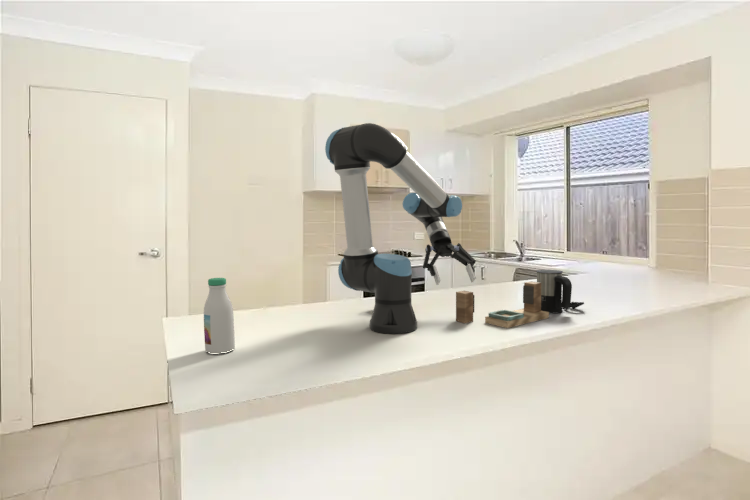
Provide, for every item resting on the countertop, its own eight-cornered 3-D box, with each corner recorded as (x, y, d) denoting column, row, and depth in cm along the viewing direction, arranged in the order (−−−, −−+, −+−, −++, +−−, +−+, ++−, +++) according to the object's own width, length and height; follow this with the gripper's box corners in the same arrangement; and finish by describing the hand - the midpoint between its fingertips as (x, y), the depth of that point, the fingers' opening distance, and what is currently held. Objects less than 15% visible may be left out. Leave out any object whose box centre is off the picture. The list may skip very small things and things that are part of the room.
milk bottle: (238, 346, 129) (235, 276, 127) (230, 355, 121) (227, 280, 119) (210, 347, 128) (207, 276, 127) (201, 355, 121) (197, 281, 119)
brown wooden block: (464, 323, 151) (464, 293, 150) (455, 321, 154) (456, 291, 153) (474, 321, 153) (474, 291, 152) (466, 319, 157) (466, 290, 156)
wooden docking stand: (507, 328, 144) (507, 290, 143) (485, 322, 151) (485, 286, 150) (548, 317, 156) (549, 283, 155) (526, 313, 164) (527, 280, 163)
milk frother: (530, 310, 168) (531, 270, 166) (551, 304, 178) (552, 266, 177) (568, 317, 157) (569, 274, 156) (588, 310, 168) (589, 270, 166)
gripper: (465, 241, 180) (484, 285, 167) (405, 243, 173) (420, 289, 160) (471, 228, 174) (491, 273, 161) (410, 230, 168) (426, 277, 155)
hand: (456, 281), depth 161 cm, fingers open, 13 cm apart
